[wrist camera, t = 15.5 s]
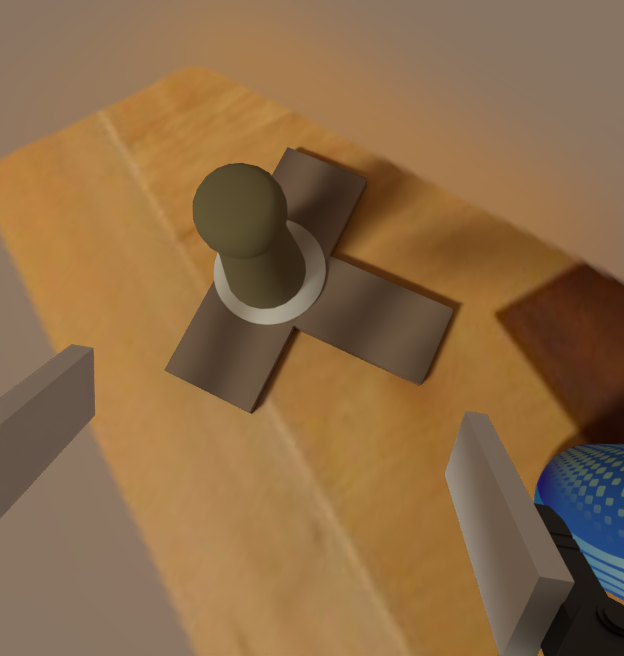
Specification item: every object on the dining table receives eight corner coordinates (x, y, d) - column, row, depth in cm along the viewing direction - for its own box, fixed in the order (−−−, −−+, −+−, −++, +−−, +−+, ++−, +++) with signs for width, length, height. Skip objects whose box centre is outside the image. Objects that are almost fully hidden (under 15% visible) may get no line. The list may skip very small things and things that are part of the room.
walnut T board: (485, 233, 36) (490, 226, 35) (379, 477, 32) (381, 479, 31) (281, 151, 39) (279, 141, 37) (161, 368, 35) (154, 365, 33)
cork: (263, 217, 36) (232, 123, 25) (323, 265, 35) (316, 188, 24) (209, 274, 35) (152, 202, 24) (268, 325, 34) (236, 273, 23)
